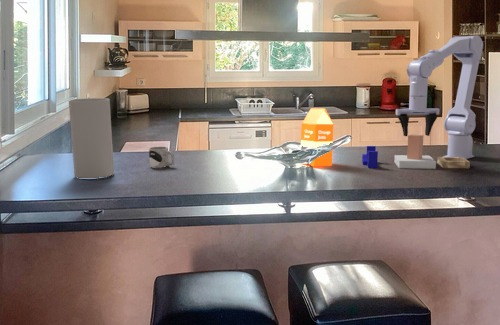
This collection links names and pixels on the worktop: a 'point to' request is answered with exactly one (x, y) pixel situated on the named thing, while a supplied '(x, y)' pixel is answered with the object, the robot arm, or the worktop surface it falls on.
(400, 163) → the platform
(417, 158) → the block
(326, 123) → the orange juice
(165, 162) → the mug
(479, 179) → the worktop surface
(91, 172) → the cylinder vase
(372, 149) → the cable clip
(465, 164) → the socket
